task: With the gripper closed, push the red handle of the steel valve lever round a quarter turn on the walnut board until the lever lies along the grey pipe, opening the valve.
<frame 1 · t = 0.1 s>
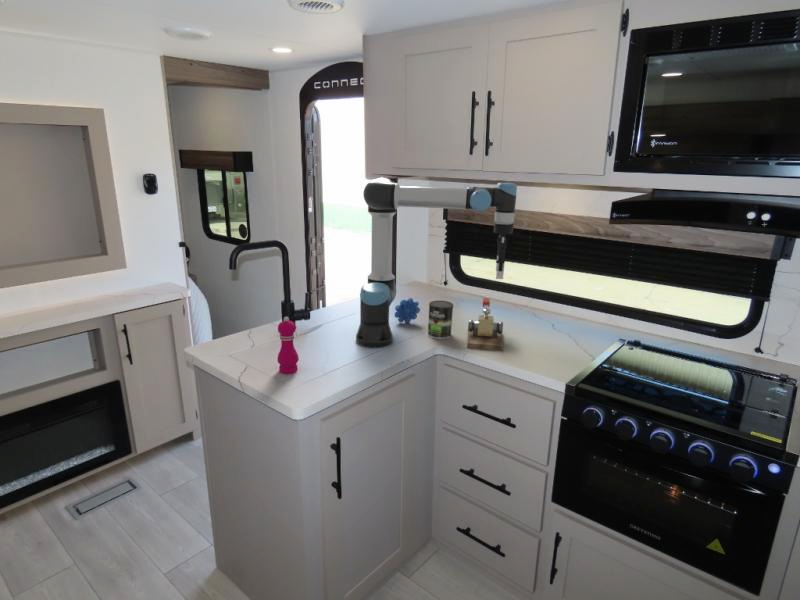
hand: (499, 275, 198), 28 cm above the worktop, tool pointing down, fingers open, 13 cm apart
grapes: (406, 322, 224), on the worktop
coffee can: (439, 335, 209), on the worktop
pepper mill: (288, 370, 171), on the worktop
valve lever: (486, 306, 207), point 13 cm above the worktop, hinge at 90.0°
base board: (484, 340, 205), on the worktop
valve body: (485, 324, 203), on the base board, point 7 cm above the worktop
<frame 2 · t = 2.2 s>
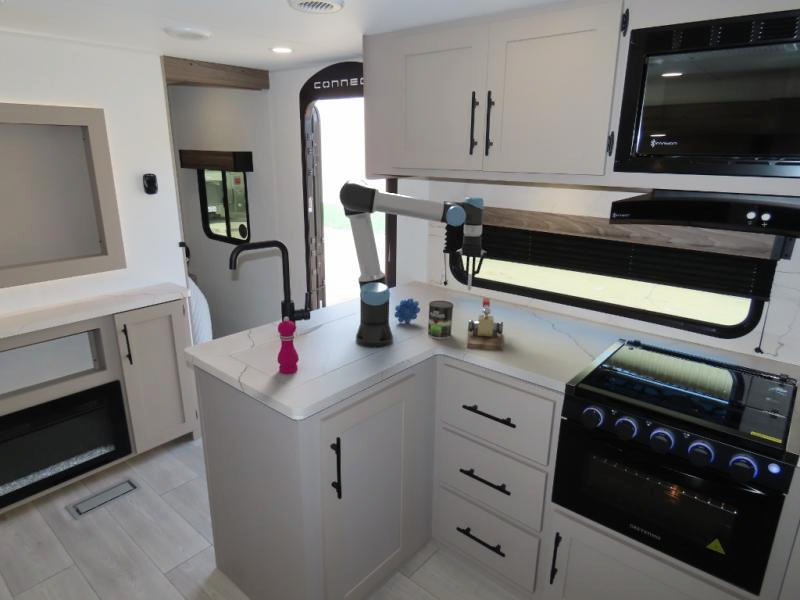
hand: (469, 289, 210), 19 cm above the worktop, tool pointing down, fingers closed
nothing on the worktop moved.
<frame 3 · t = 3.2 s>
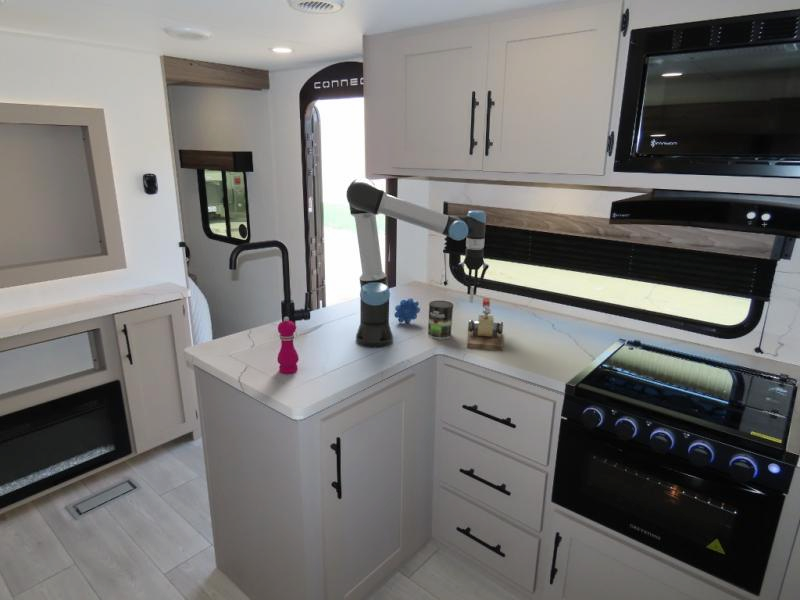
hand: (471, 301, 211), 14 cm above the worktop, tool pointing down, fingers closed
nothing on the worktop moved.
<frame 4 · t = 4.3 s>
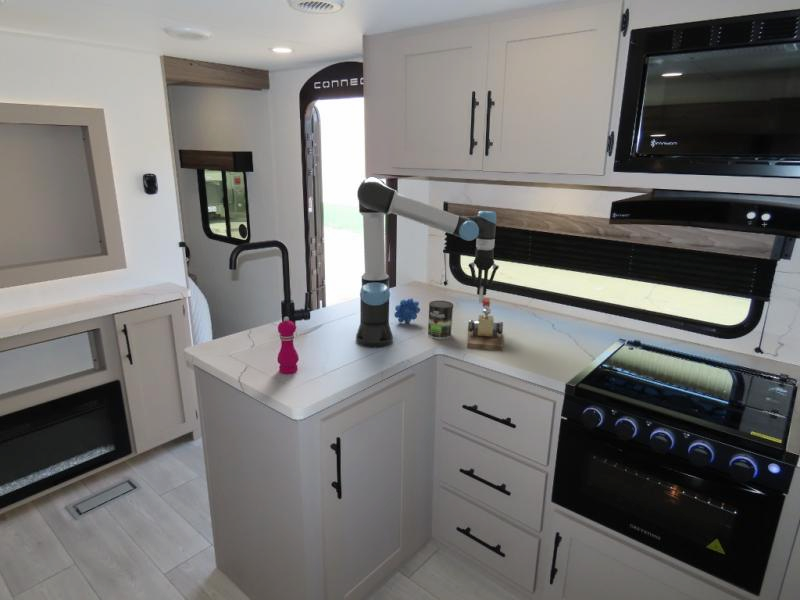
hand: (480, 302, 211), 14 cm above the worktop, tool pointing down, fingers closed
valve lever: (486, 306, 207), point 13 cm above the worktop, hinge at 90.0°, touching gripper
everything else where it was.
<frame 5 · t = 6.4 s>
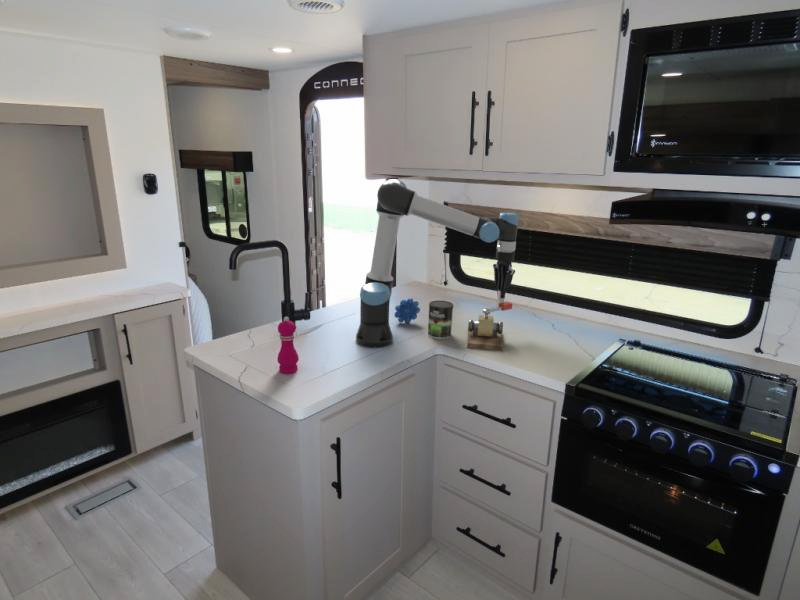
hand: (500, 304, 209), 13 cm above the worktop, tool pointing down, fingers closed
valve lever: (497, 308, 204), point 13 cm above the worktop, hinge at 44.2°, touching gripper
everything else where it was.
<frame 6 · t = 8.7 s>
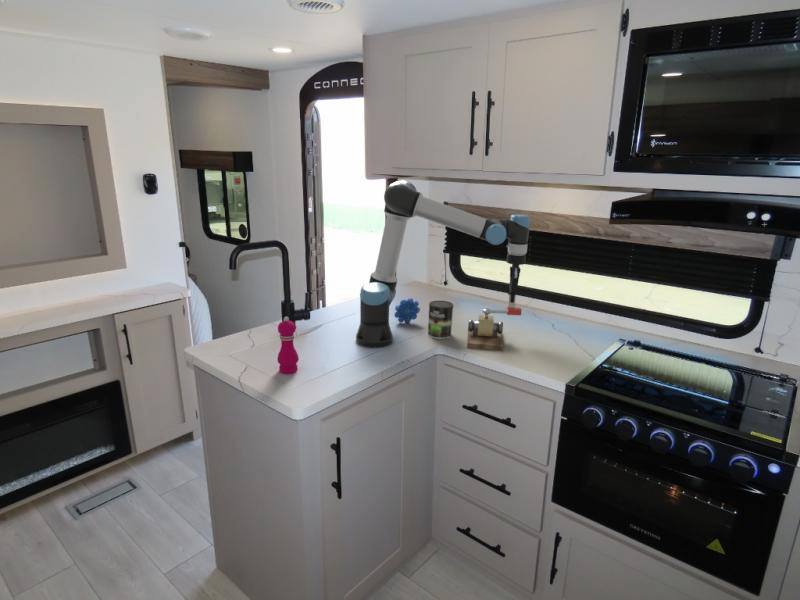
hand: (510, 309, 203), 13 cm above the worktop, tool pointing down, fingers closed
valve lever: (501, 310, 201), point 13 cm above the worktop, hinge at 7.5°, touching gripper
everything else where it was.
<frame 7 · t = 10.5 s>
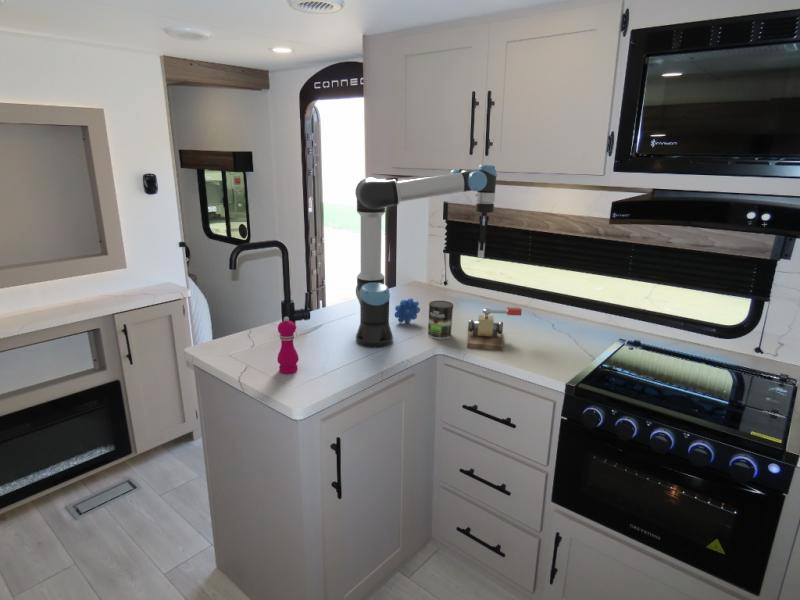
hand: (480, 257, 213), 32 cm above the worktop, tool pointing down, fingers closed
valve lever: (501, 311, 201), point 13 cm above the worktop, hinge at 6.3°
everything else where it was.
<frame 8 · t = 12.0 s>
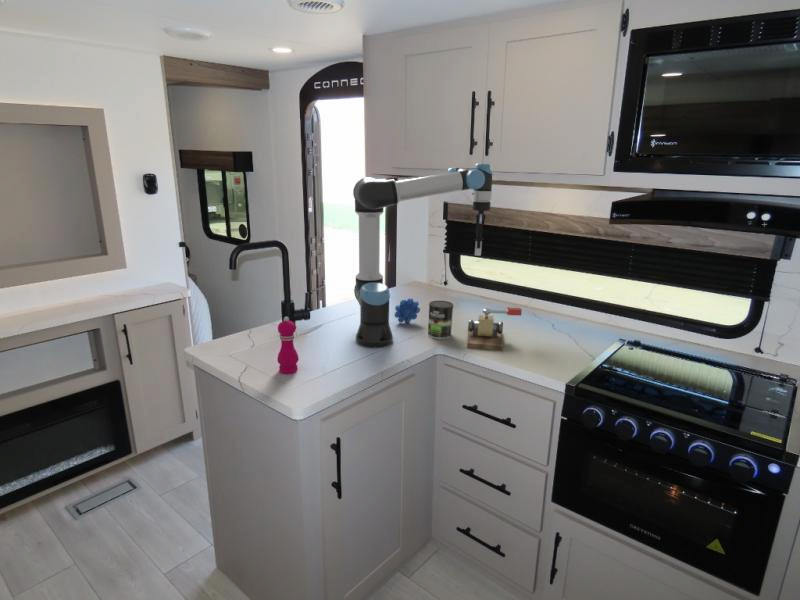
hand: (477, 255, 214), 32 cm above the worktop, tool pointing down, fingers closed
nothing on the worktop moved.
at the end: valve lever at +6° (first picture: +90°); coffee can moved 0.2 cm from its start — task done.
